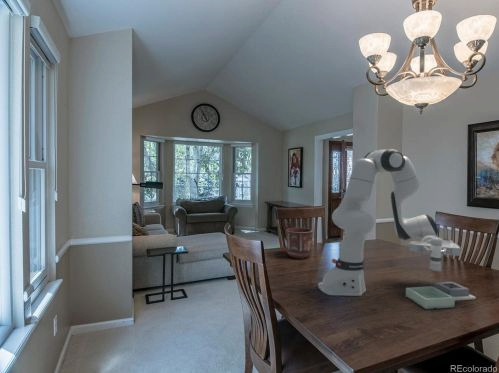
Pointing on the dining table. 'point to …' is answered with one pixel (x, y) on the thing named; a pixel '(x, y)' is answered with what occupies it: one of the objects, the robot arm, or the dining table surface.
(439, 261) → the cylinder
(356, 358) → the dining table surface
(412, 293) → the parts tray
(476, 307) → the dining table surface
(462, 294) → the fuse board
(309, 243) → the pottery
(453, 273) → the dining table surface
